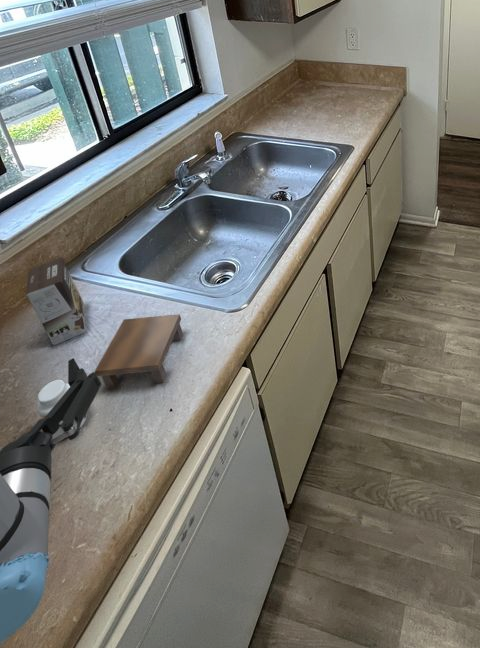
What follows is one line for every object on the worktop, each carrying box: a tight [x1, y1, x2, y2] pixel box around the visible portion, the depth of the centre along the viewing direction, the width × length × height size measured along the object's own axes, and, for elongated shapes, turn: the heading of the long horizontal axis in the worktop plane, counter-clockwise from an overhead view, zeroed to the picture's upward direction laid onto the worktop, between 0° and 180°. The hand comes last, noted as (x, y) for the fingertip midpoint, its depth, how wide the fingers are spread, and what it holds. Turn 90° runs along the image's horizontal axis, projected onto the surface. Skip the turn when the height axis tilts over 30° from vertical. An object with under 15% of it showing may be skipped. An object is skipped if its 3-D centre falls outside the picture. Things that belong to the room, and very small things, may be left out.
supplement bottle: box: [36, 379, 88, 429], centre depth 81 cm, size 6×6×10 cm
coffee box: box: [25, 256, 86, 346], centre depth 99 cm, size 9×6×16 cm
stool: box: [94, 313, 184, 389], centre depth 93 cm, size 12×12×6 cm
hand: (25, 393), depth 72 cm, fingers open, 13 cm apart
